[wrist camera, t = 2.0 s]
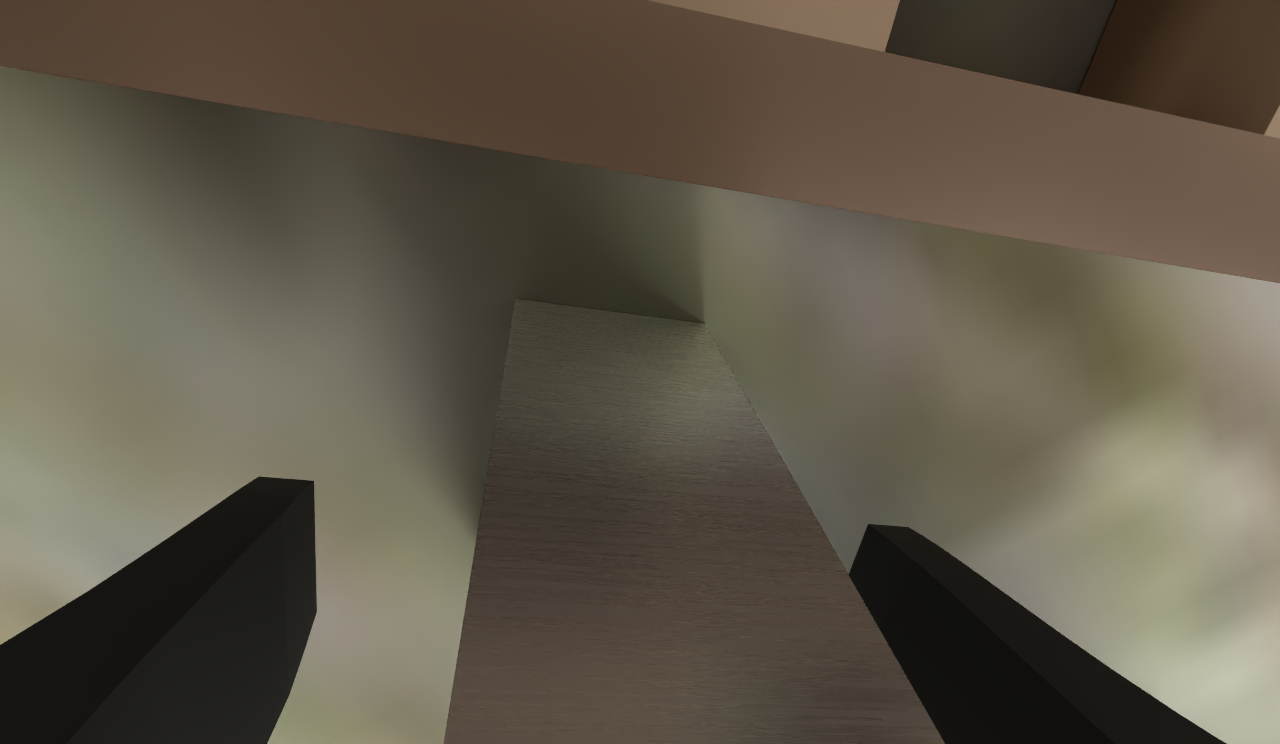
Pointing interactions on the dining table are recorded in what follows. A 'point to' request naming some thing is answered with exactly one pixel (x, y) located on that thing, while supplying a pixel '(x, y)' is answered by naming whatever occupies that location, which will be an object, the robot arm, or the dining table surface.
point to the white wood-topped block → (656, 560)
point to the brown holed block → (755, 103)
